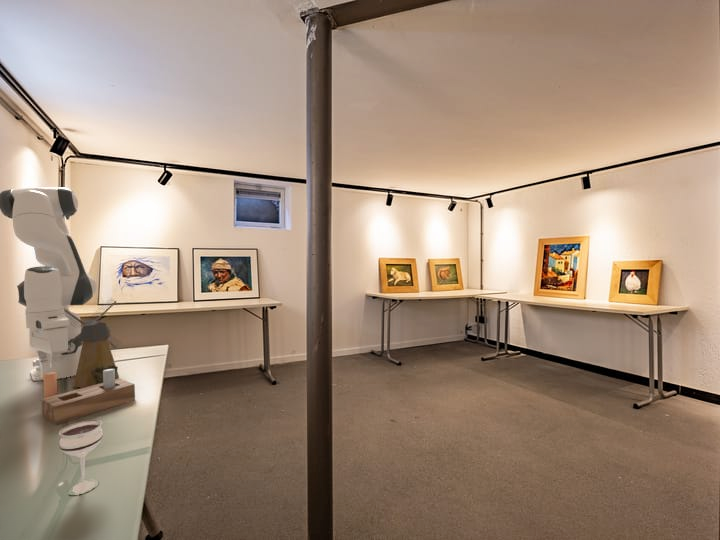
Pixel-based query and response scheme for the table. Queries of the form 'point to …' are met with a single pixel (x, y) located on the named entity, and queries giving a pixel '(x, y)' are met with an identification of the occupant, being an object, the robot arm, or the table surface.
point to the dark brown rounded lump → (101, 374)
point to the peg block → (86, 401)
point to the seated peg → (109, 378)
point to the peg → (50, 384)
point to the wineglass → (81, 445)
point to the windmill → (92, 348)
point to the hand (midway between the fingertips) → (49, 365)
